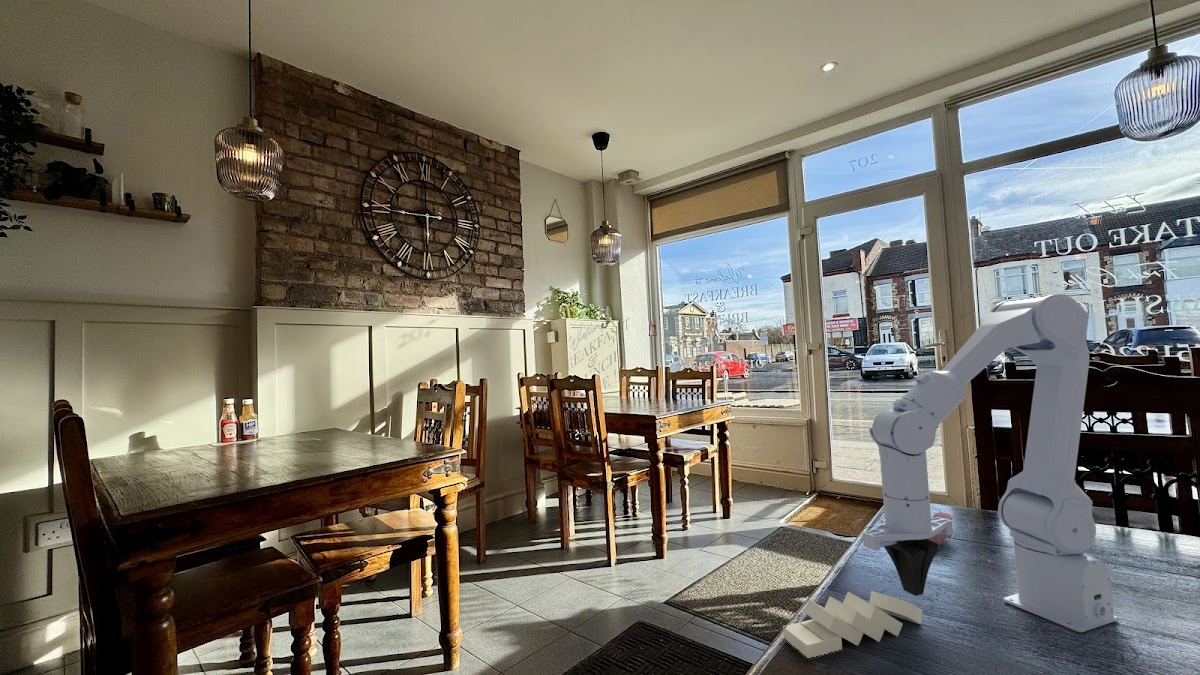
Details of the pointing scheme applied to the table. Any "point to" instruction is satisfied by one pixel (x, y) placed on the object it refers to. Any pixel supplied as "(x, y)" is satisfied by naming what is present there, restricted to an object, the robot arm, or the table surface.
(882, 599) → the domino
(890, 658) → the table surface
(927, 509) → the robot arm
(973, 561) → the table surface
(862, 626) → the domino
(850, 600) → the domino
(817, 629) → the domino
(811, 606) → the domino
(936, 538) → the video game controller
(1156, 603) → the table surface
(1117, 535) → the table surface
